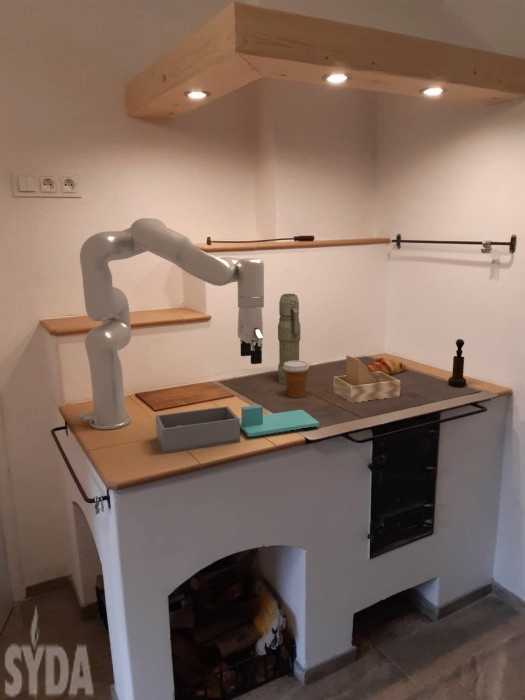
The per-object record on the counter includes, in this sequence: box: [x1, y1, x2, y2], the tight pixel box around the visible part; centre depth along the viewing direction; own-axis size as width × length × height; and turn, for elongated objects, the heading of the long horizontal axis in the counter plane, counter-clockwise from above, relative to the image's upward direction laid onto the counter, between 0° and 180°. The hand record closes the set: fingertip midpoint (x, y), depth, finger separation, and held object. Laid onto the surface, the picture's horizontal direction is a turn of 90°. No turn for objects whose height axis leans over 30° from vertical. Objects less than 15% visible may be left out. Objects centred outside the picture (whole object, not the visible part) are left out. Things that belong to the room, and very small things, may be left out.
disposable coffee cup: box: [283, 360, 310, 398], centre depth 193 cm, size 10×10×12 cm
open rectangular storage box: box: [333, 371, 401, 404], centre depth 193 cm, size 20×14×6 cm
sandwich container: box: [345, 355, 380, 386], centre depth 192 cm, size 9×15×15 cm, turn 113°
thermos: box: [277, 293, 301, 386], centre depth 206 cm, size 9×12×35 cm
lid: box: [238, 404, 320, 438], centre depth 163 cm, size 23×13×8 cm, turn 110°
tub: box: [155, 405, 241, 455], centre depth 154 cm, size 22×12×7 cm, turn 109°
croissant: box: [365, 357, 409, 376], centre depth 221 cm, size 21×10×8 cm, turn 108°
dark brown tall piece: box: [447, 338, 467, 388], centre depth 201 cm, size 7×6×18 cm
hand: (250, 359), depth 156 cm, fingers open, 9 cm apart
